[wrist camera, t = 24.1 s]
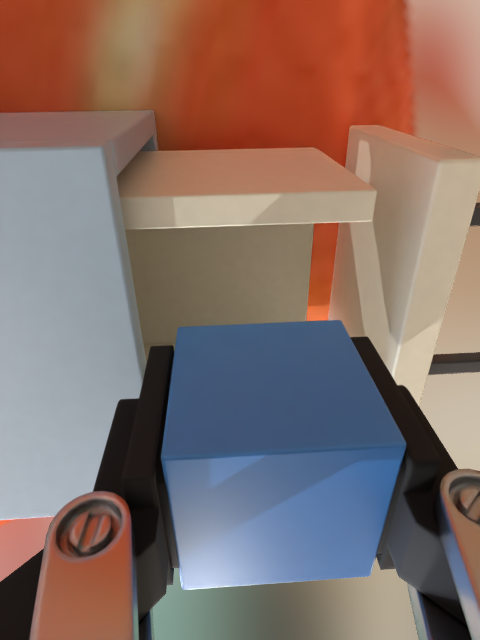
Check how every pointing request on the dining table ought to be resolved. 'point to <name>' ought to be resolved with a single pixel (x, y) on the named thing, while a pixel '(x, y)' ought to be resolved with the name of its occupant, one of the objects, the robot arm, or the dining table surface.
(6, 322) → the grey drawer cabinet
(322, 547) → the blue wooden cube
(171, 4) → the dining table surface
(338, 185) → the drawer
